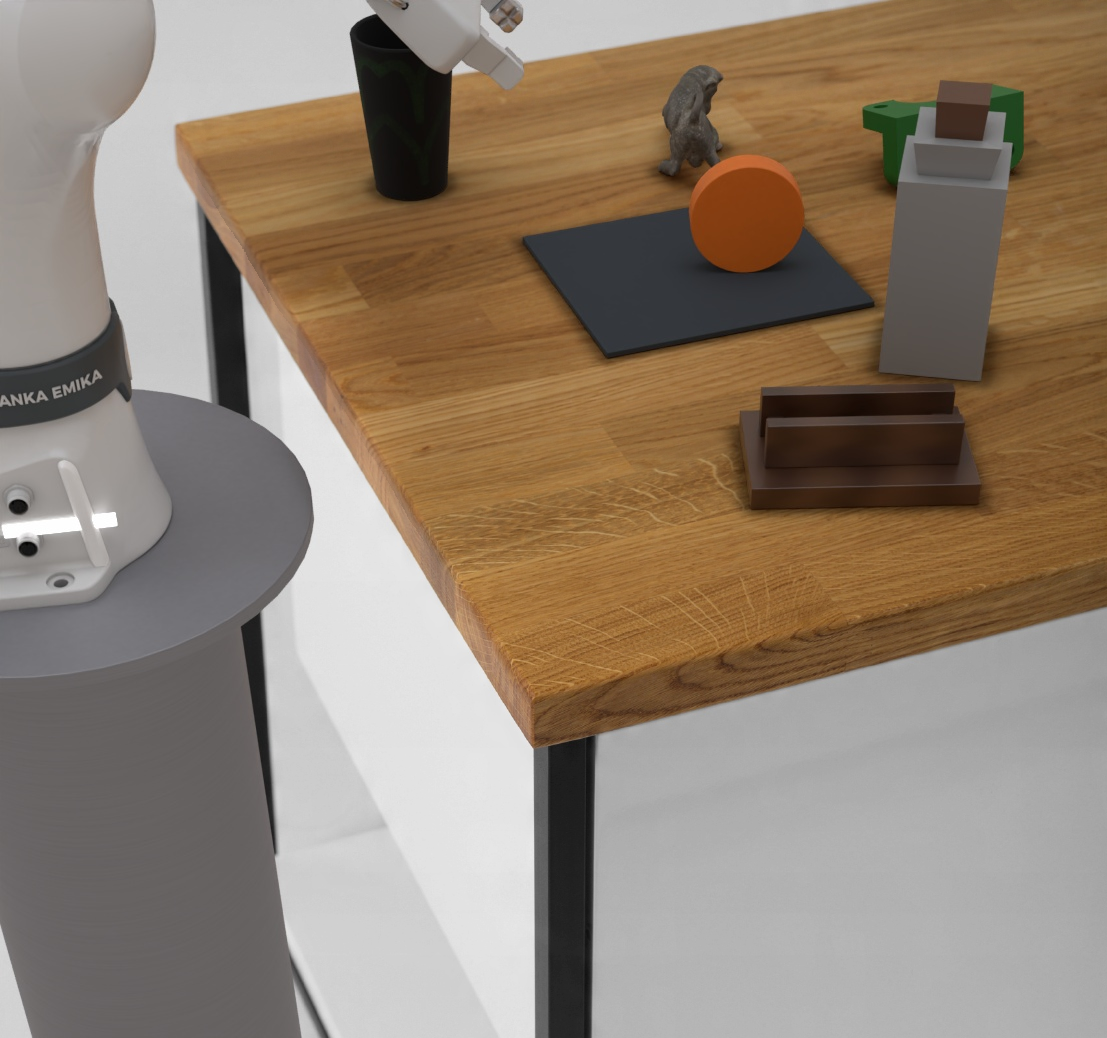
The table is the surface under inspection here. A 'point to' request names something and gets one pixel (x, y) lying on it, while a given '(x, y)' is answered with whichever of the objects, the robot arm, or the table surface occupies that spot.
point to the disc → (746, 213)
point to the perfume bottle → (946, 237)
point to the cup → (402, 113)
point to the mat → (682, 284)
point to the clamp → (903, 116)
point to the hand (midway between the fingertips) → (517, 50)
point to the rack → (857, 447)
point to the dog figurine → (692, 120)
